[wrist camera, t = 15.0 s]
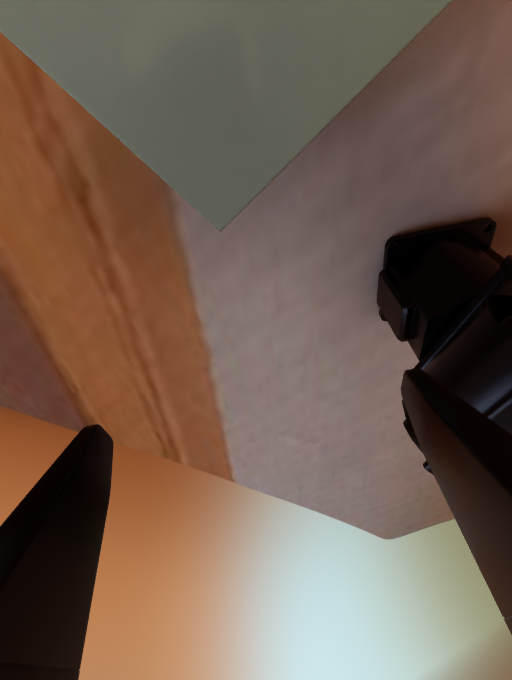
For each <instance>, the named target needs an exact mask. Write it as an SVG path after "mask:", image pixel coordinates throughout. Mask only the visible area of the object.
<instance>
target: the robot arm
mask: <svg viewBox="0 0 512 680" xmlns="http://www.w3.org/2000/svg"><path fill="white" fill-rule="evenodd" d="M487 225H488V226H487ZM496 225H497V224H496V222H495V221H494V220H492V219H491V218H483V219H478V220H473V221H468V222H463V223H458V224H453V225H448V226H443V227H438V228H433V229H428V230H423V231H418V232H413V233H408V234H404V235H399V236H394V237H391V238H390V239H388V240H387V242H386V244H385V252H384V263H383V270H382V271H381V272H380V273H379V281H378V293H377V304H378V306H379V308H380V309H379V316H380V317H381V319H382V320H383V321H387V322H388V323H389V325H390V327H391V328H392V330H393V332H394V334H395V335H396V337H397V339H398V340H400V341H401V342H403V341H408V343H409V344H410V346H411V348H412V349H413V351H414V353H415V354H416V356H417V358H418V359H419V363H418V364H417V365H416V366H415V367H414V368H413V369H410V370H406V371H405V372H404V374H403V380H402V385H401V394H402V397H403V400H402V404H403V409H404V413H405V417H406V419H405V420H404V423H403V424H404V427H405V429H406V431H407V432H408V434H409V436H410V437H411V439H412V441H413V442H414V443H415V444H416V446H417V447H418V448H419V450H420V451H421V452H422V453H423V454H424V456H425V458H426V460H427V461H425V462H424V463H423V466H424V468H425V469H426V470H427V471H429V472H430V473H432V474H433V475H434V476H435V478H436V480H437V483H438V485H439V487H440V489H441V491H442V493H443V495H444V497H445V499H446V501H447V503H448V505H449V507H450V509H451V511H452V513H453V515H454V517H455V519H456V521H457V524H458V525H459V528H460V530H461V532H462V534H463V536H464V538H465V540H466V542H467V544H468V546H469V548H470V550H471V552H472V554H473V556H474V558H475V560H476V562H477V565H478V567H479V569H480V571H481V573H482V575H483V577H484V579H485V581H486V583H487V585H488V587H489V589H490V591H491V593H492V595H493V597H494V599H495V601H496V603H497V605H498V607H499V610H500V612H501V614H502V616H503V617H505V618H504V620H505V622H506V624H507V626H508V628H509V630H510V632H511V634H512V256H511V255H508V256H507V257H506V258H505V259H504V258H503V257H502V256H501V255H499V254H498V253H497V252H496V251H494V250H493V249H492V248H490V245H491V242H492V239H493V236H494V232H495V229H496ZM485 226H487V228H485V229H484V227H485ZM395 243H397V245H396V246H395V247H393V248H391V247H392V245H393V244H395ZM112 458H113V440H112V438H111V437H110V435H109V434H108V433H107V432H106V431H105V430H104V429H103V428H102V427H101V426H100V425H98V424H96V425H90V426H86V427H84V428H83V429H82V430H81V431H80V432H79V433H78V435H77V436H76V437H75V438H74V439H73V440H72V442H71V443H70V444H69V445H68V446H67V448H66V449H65V450H64V451H63V452H62V454H61V455H60V456H59V457H58V458H57V460H56V461H55V462H54V463H53V464H52V465H51V467H50V468H49V469H48V470H47V471H46V473H45V474H44V475H43V476H42V477H41V479H40V480H39V481H38V482H37V483H36V484H35V486H34V487H33V488H32V489H31V490H30V492H29V493H28V494H27V495H26V497H25V498H24V499H23V500H22V501H21V502H20V503H19V505H18V506H17V507H16V508H15V509H14V511H13V512H12V513H11V514H10V515H9V517H8V518H7V519H6V520H5V521H4V523H3V524H2V525H1V526H0V680H78V678H79V673H80V671H79V669H80V665H81V660H82V654H83V648H84V642H85V636H86V630H87V625H88V619H89V613H90V608H91V602H92V596H93V590H94V584H95V579H96V573H97V568H98V562H99V556H100V550H101V544H102V539H103V532H104V527H105V521H106V516H107V510H108V504H109V497H110V489H111V475H112V460H113V459H112Z"/></svg>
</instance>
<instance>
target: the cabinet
mask: <svg viewBox="0 0 512 680" xmlns="http://www.w3.org/2000/svg"><path fill="white" fill-rule="evenodd" d="M451 1H452V0H0V32H1V33H3V34H4V35H5V36H6V37H7V38H8V39H9V40H10V41H11V42H12V43H14V44H15V45H16V46H17V47H18V48H19V49H20V50H21V51H22V52H23V53H25V54H26V55H27V56H28V57H29V58H30V59H31V60H32V61H33V62H34V63H36V64H37V65H38V66H39V67H40V68H41V69H42V70H43V71H44V72H45V73H46V74H48V75H49V76H50V77H51V78H52V79H53V80H54V81H55V82H56V83H57V84H59V85H60V86H61V87H62V88H63V89H64V90H65V91H66V92H67V93H68V94H70V95H71V96H72V97H73V98H74V99H75V100H76V101H77V102H78V103H79V104H81V105H82V106H83V107H84V108H85V109H86V110H87V111H88V112H89V113H90V114H92V115H93V116H94V117H95V118H96V119H97V120H98V121H99V122H100V123H101V124H103V125H104V126H105V127H106V128H107V129H108V130H109V131H110V132H111V133H112V134H113V135H115V136H116V137H117V138H118V139H119V140H120V141H121V142H122V143H123V144H124V145H126V146H127V147H128V148H129V149H130V150H131V151H132V152H133V153H134V154H135V155H137V156H138V157H139V158H140V159H141V160H142V161H143V162H144V163H145V164H146V165H148V166H149V167H150V168H151V169H152V170H153V171H154V172H155V173H156V174H157V175H159V176H160V177H161V178H162V179H163V180H164V181H165V182H166V183H167V184H168V185H170V186H171V187H172V188H173V189H174V190H175V191H176V192H177V193H178V194H179V195H181V196H182V197H183V198H184V199H185V200H186V201H187V202H188V203H189V204H190V205H191V206H193V207H194V208H195V209H196V210H197V211H198V212H199V213H200V214H201V215H202V216H204V217H205V218H206V219H207V220H208V221H209V222H210V223H211V224H212V225H213V226H215V227H216V228H217V229H218V230H219V231H222V230H223V229H224V228H225V227H226V226H227V225H228V224H229V223H230V222H231V221H232V220H233V219H234V218H235V217H236V216H237V215H238V214H239V213H240V212H241V211H242V210H243V209H244V208H245V207H246V206H247V205H248V204H249V203H250V202H251V201H252V200H253V199H254V198H255V197H256V196H257V195H258V194H259V193H260V192H261V191H262V190H263V189H264V188H265V187H266V186H267V185H268V184H269V183H270V182H271V181H272V180H273V179H274V178H275V177H276V176H277V175H278V174H279V173H280V172H281V171H282V170H283V169H284V168H285V167H286V166H287V165H288V164H289V163H290V162H291V161H292V160H293V159H294V158H295V157H296V156H297V155H298V154H299V153H300V152H301V151H302V150H303V149H304V148H305V147H306V146H307V145H308V144H309V143H310V142H311V141H312V140H313V139H314V138H315V137H316V136H317V135H318V134H319V133H320V132H321V131H322V130H323V129H324V128H325V127H326V126H327V125H328V124H329V123H330V122H331V121H332V120H333V119H334V118H335V117H336V116H337V115H338V114H339V113H340V112H341V111H342V110H343V109H344V108H345V107H346V106H347V105H348V104H349V103H350V102H351V101H352V100H353V99H354V98H355V97H356V96H357V95H358V94H359V93H360V92H361V91H362V90H363V89H364V88H365V87H366V86H367V85H368V84H369V83H370V82H371V81H372V80H373V79H374V78H375V77H376V76H377V75H378V74H379V73H380V72H381V71H382V70H383V69H384V68H385V67H386V66H387V65H388V64H389V63H390V62H391V61H392V60H393V59H394V58H395V57H396V56H397V55H398V54H399V53H400V52H401V51H402V50H403V49H404V48H405V47H406V46H407V45H408V44H409V43H410V42H411V41H412V40H413V39H414V38H415V37H416V36H417V35H418V34H419V33H420V32H421V31H422V30H423V29H424V28H425V27H426V26H427V25H428V24H429V23H430V22H431V21H432V20H433V19H434V18H435V17H436V16H437V15H438V14H439V13H440V12H441V11H442V10H443V9H444V8H445V7H446V6H447V5H448V4H449V3H450V2H451Z"/></svg>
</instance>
